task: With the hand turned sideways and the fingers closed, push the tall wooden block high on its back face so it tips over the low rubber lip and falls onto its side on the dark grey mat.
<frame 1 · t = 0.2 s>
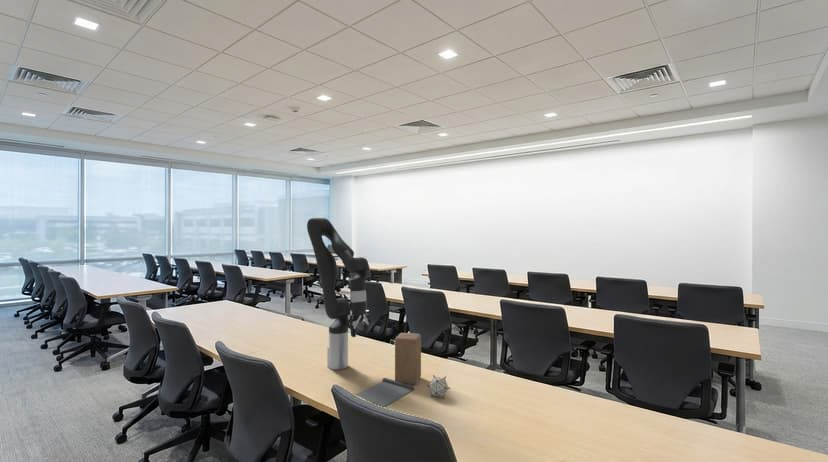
hand: (359, 334, 180), 18 cm above the table, tool pointing down, fingers open, 8 cm apart
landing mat: (384, 393, 157), on the table
grey spiky star polyhedron: (438, 397, 154), on the table
wooden block: (408, 380, 171), on the table
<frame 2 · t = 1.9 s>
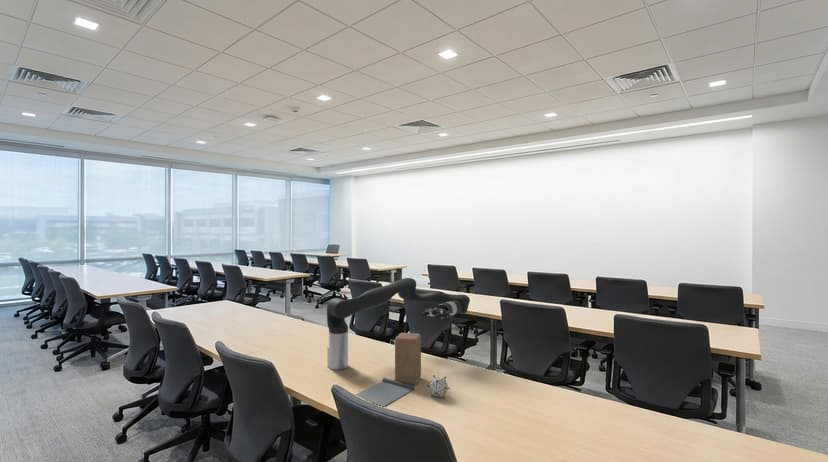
hand: (429, 316, 185), 26 cm above the table, tool horizontal, fingers open, 7 cm apart
nothing on the table moved.
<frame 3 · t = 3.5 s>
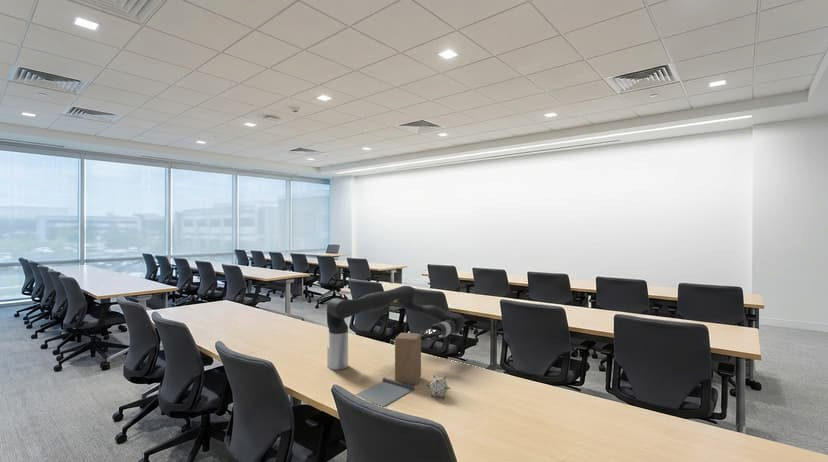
hand: (421, 338, 180), 16 cm above the table, tool horizontal, fingers closed
nothing on the table moved.
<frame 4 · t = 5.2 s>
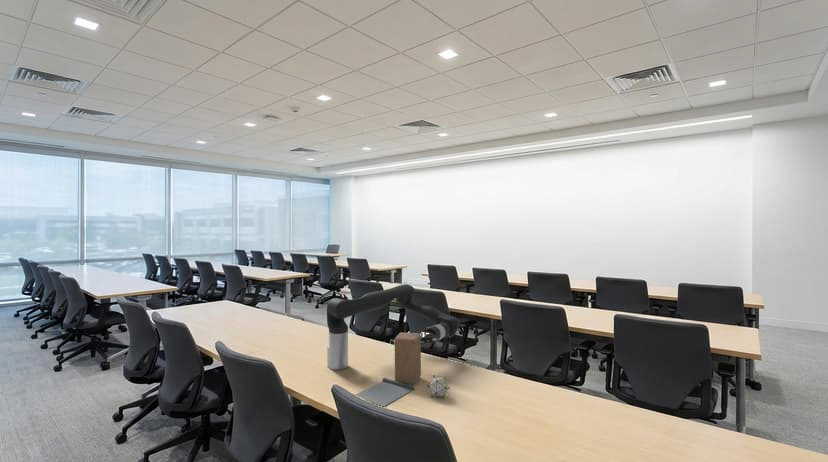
hand: (414, 341, 175), 16 cm above the table, tool horizontal, fingers closed
nothing on the table moved.
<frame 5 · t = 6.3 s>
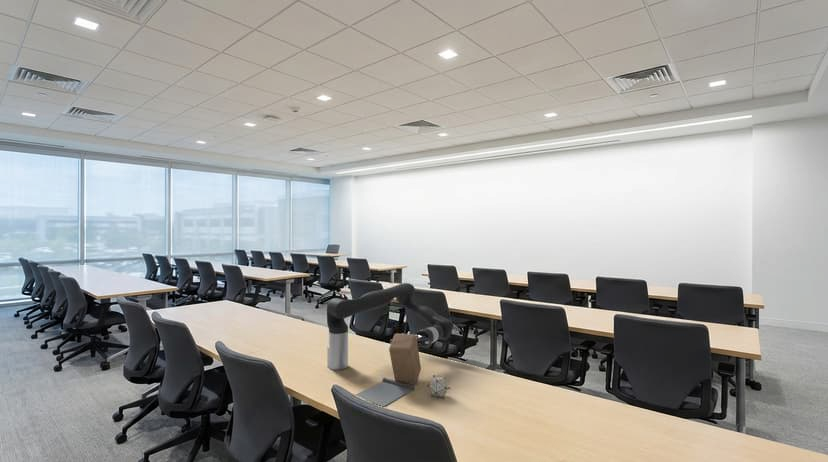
hand: (406, 344, 170), 16 cm above the table, tool horizontal, fingers closed
wooden block: (408, 376, 171), point 2 cm above the table, touching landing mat
everything else where it was.
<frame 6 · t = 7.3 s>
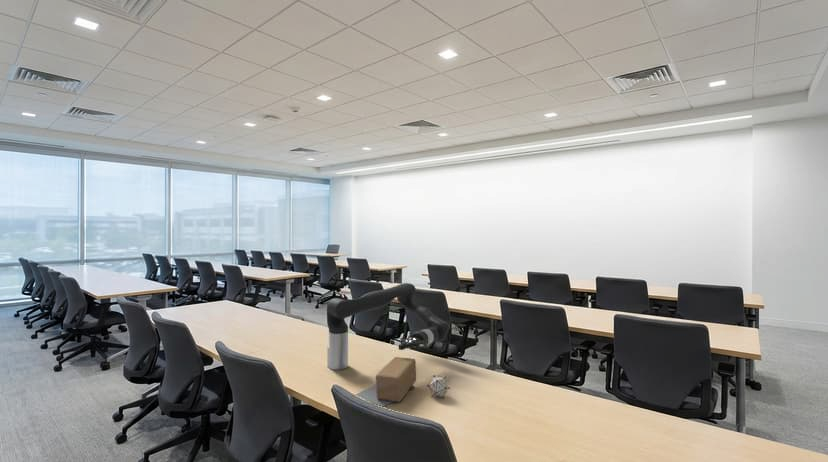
hand: (400, 347, 166), 16 cm above the table, tool horizontal, fingers closed
wooden block: (406, 368, 167), point 7 cm above the table, touching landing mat
everything else where it was.
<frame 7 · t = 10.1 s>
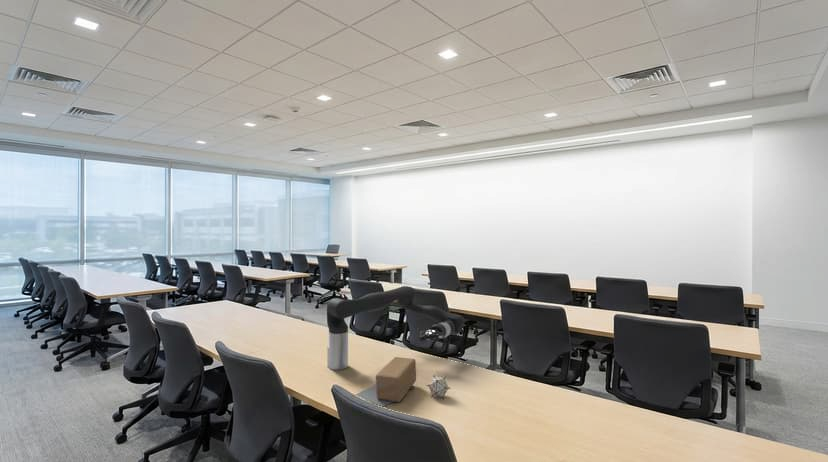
hand: (421, 338, 180), 16 cm above the table, tool horizontal, fingers closed
nothing on the table moved.
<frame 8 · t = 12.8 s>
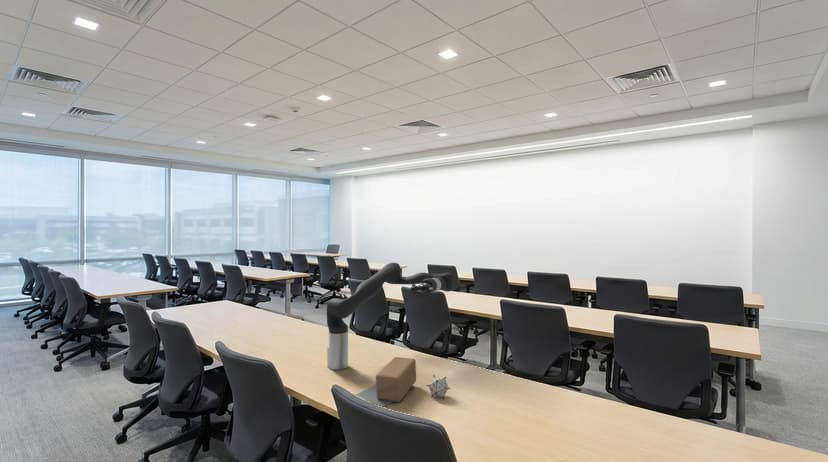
hand: (412, 289, 187), 38 cm above the table, tool horizontal, fingers closed
nothing on the table moved.
at the end: wooden block tilted 94°; wooden block touching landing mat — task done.
